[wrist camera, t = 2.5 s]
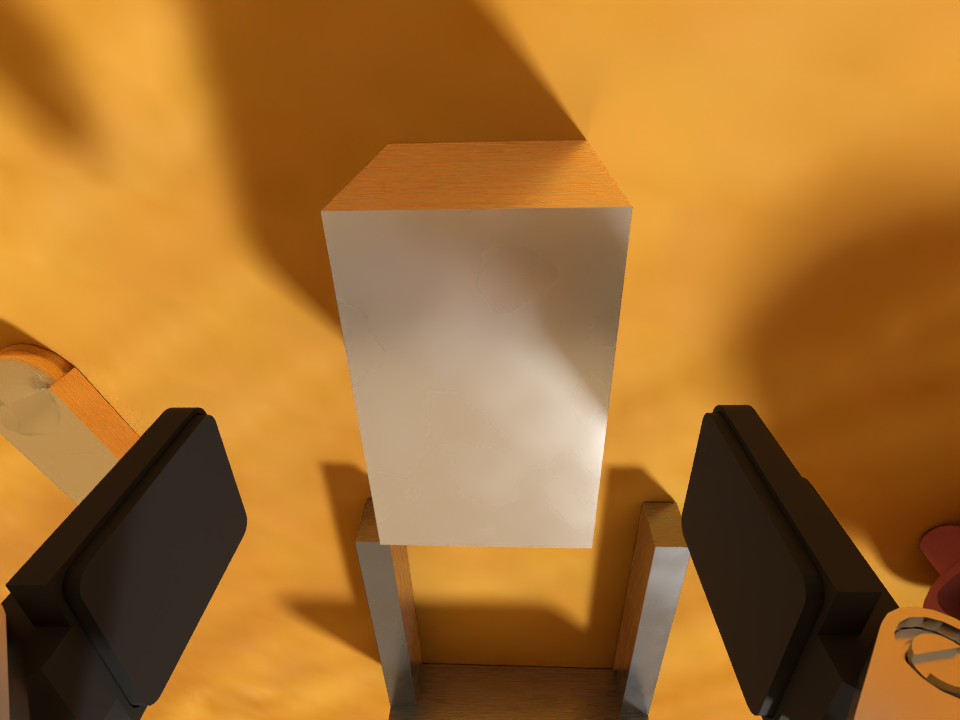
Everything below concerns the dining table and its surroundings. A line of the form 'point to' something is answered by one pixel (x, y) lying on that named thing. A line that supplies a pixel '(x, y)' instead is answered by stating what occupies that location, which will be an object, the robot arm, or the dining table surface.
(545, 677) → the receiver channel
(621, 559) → the dining table surface
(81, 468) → the brass key tag
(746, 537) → the robot arm
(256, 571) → the dining table surface
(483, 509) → the aluminium block
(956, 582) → the mechanical component
